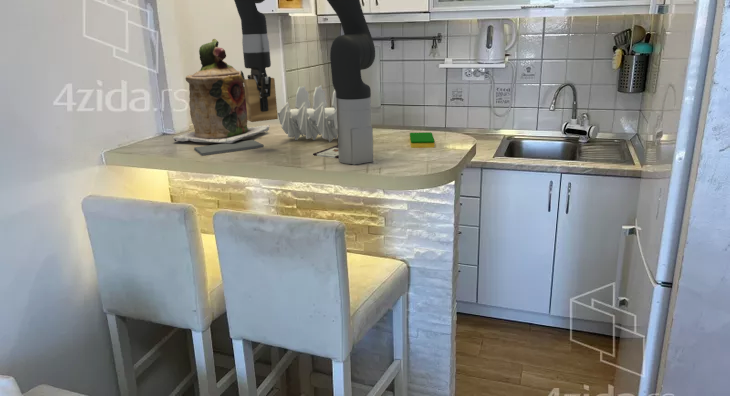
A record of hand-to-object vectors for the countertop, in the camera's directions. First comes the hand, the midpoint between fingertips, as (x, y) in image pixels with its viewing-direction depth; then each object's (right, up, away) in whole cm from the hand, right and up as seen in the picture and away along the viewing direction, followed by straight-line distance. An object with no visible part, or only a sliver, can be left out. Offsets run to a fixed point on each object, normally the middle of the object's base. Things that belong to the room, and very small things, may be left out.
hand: (261, 110), depth 163 cm
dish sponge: (+48, -10, +8) cm, 50 cm away
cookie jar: (-18, -5, +24) cm, 30 cm away
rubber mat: (-11, -11, +7) cm, 17 cm away
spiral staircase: (+17, -8, +15) cm, 24 cm away
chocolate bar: (+24, -13, +1) cm, 27 cm away
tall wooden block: (0, -3, +1) cm, 3 cm away
